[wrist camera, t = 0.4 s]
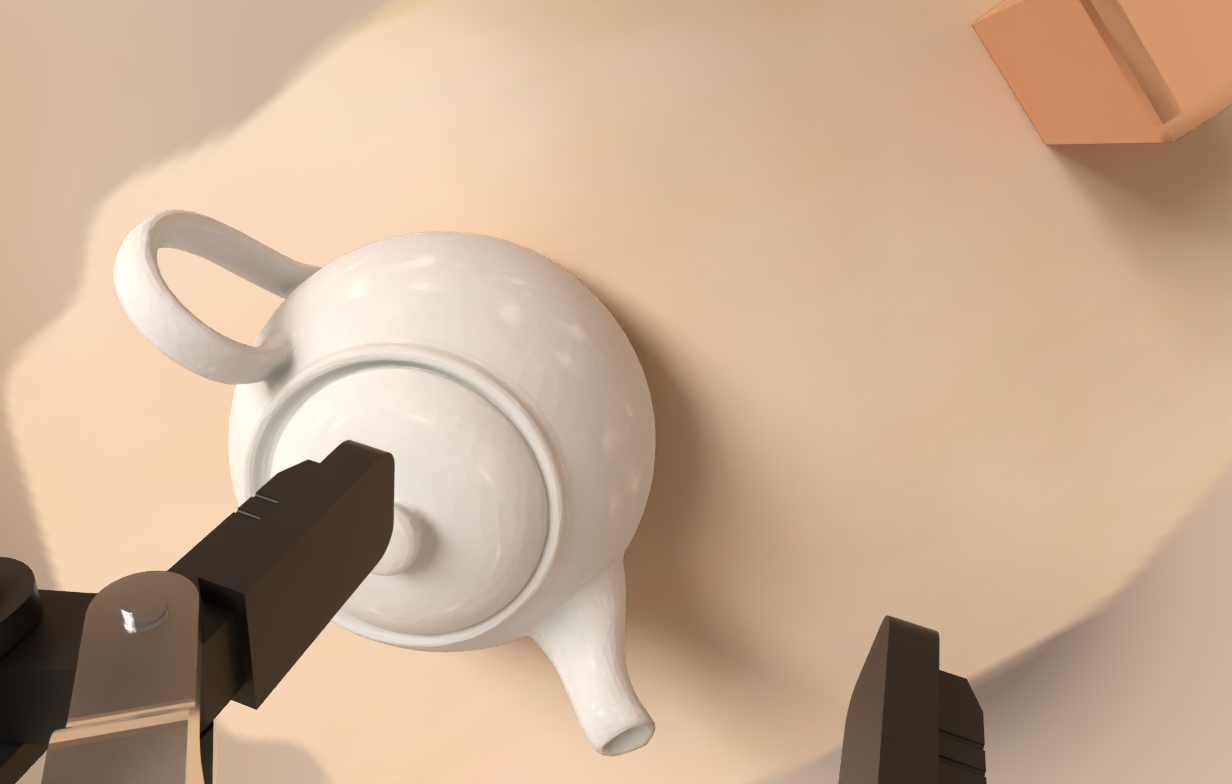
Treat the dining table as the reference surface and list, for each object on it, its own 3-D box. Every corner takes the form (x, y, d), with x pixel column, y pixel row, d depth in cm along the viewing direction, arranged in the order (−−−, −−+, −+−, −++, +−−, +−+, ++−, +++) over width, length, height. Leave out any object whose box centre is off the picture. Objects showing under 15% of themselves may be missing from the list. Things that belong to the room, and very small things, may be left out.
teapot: (680, 209, 38) (672, 241, 25) (664, 605, 43) (650, 807, 30) (251, 197, 39) (28, 221, 26) (283, 582, 44) (108, 764, 31)
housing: (971, 24, 35) (1076, -24, 25) (1104, -73, 34) (1267, -161, 24) (1045, 144, 36) (1173, 142, 26) (1177, 55, 35) (1362, 18, 25)
